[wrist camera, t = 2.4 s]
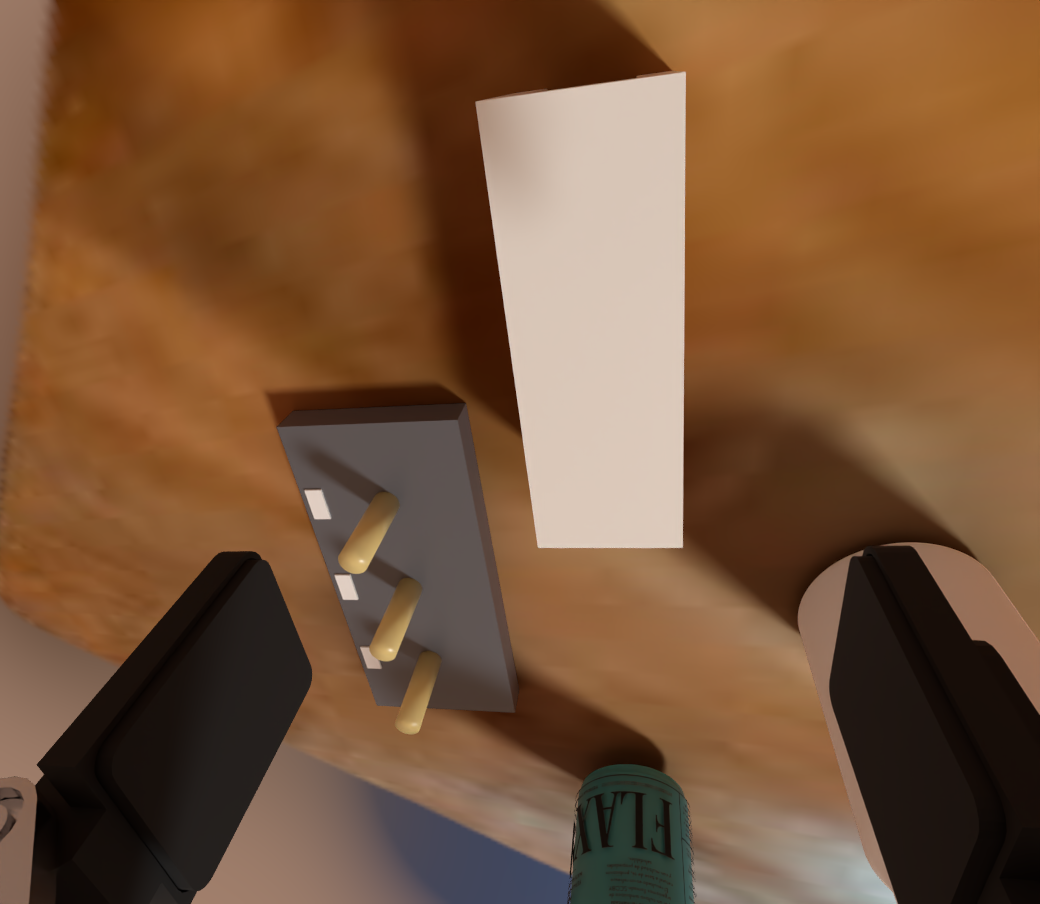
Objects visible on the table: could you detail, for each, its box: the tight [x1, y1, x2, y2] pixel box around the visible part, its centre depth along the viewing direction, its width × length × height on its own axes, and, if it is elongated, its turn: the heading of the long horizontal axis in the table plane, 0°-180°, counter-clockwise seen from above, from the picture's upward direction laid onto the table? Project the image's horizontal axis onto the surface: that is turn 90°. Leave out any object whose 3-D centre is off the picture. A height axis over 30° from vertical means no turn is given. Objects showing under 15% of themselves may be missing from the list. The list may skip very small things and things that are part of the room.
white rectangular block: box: [475, 71, 686, 548], centre depth 21 cm, size 14×5×6 cm, turn 7°
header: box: [277, 403, 519, 734], centre depth 30 cm, size 18×8×6 cm, turn 7°
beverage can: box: [798, 542, 1040, 904], centre depth 24 cm, size 8×8×12 cm
